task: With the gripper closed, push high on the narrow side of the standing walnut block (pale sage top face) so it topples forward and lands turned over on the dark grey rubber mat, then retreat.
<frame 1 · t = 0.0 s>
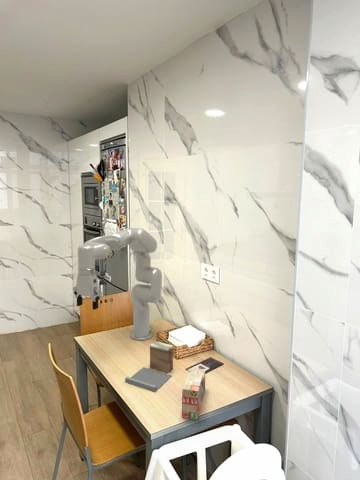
hand: (87, 307, 162), 31 cm above the table, fingers open, 9 cm apart
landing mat: (150, 378, 160), on the table
walnut block: (161, 368, 168), on the table
chocolate bar: (205, 368, 171), on the table
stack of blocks: (194, 403, 142), on the table
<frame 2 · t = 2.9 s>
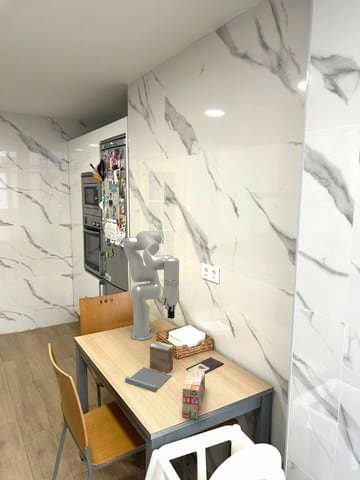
hand: (171, 317, 173), 23 cm above the table, fingers closed
nothing on the table moved.
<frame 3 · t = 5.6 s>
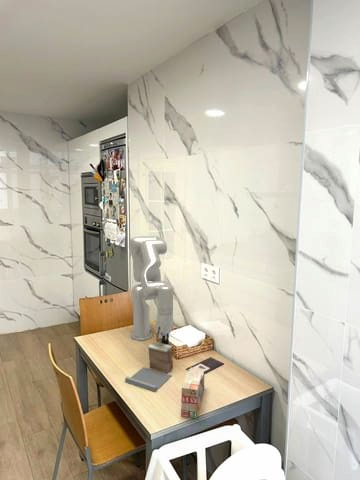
hand: (165, 346, 170), 10 cm above the table, fingers closed
walnut block: (161, 368, 168), on the table, tilted 6°
everything else where it was.
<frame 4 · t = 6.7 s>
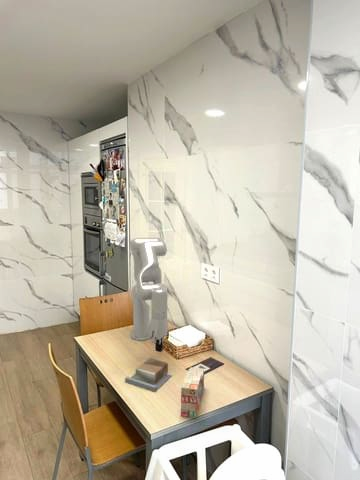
hand: (159, 350, 165), 10 cm above the table, fingers closed
walnut block: (158, 365, 166), point 3 cm above the table, tilted 90°, touching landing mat
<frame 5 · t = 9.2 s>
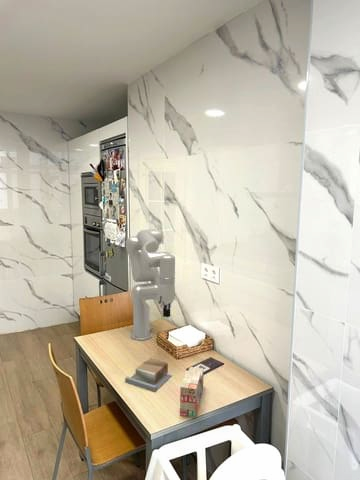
hand: (166, 316, 169), 25 cm above the table, fingers closed
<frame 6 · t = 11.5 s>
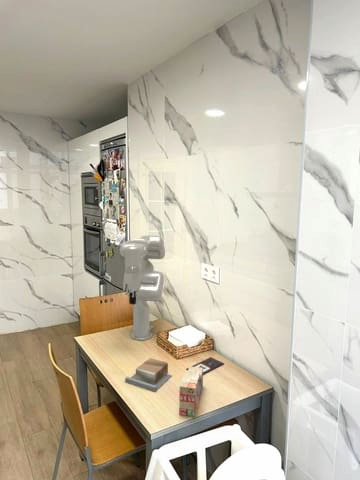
hand: (132, 303, 181), 27 cm above the table, fingers closed
at the end: walnut block tilted 90°; walnut block inside the target area (8.1 cm from its centre), point 2.8 cm above the table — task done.
